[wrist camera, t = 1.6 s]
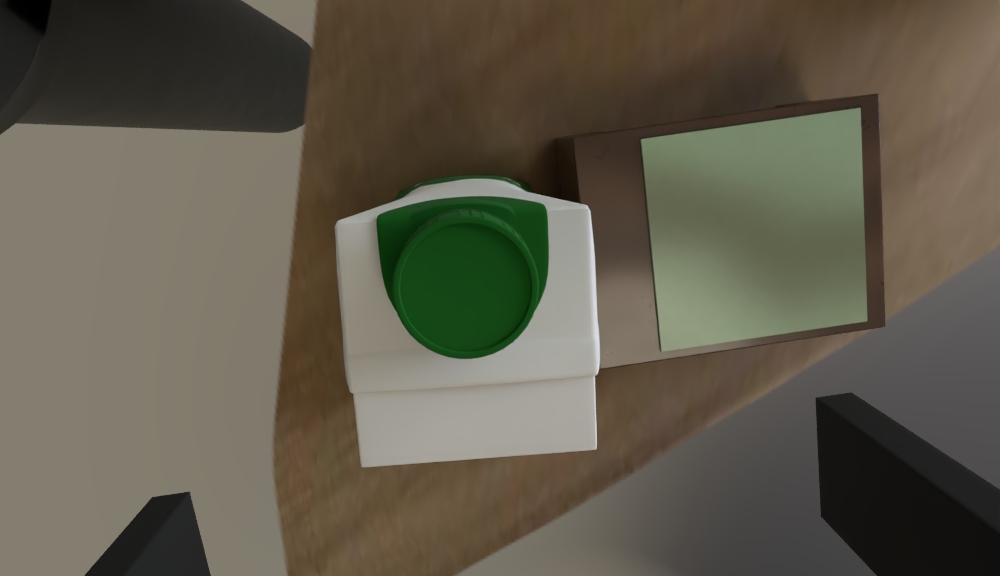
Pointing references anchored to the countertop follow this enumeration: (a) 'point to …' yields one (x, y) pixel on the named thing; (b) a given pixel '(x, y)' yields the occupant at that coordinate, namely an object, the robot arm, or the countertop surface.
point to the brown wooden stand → (733, 228)
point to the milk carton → (469, 322)
